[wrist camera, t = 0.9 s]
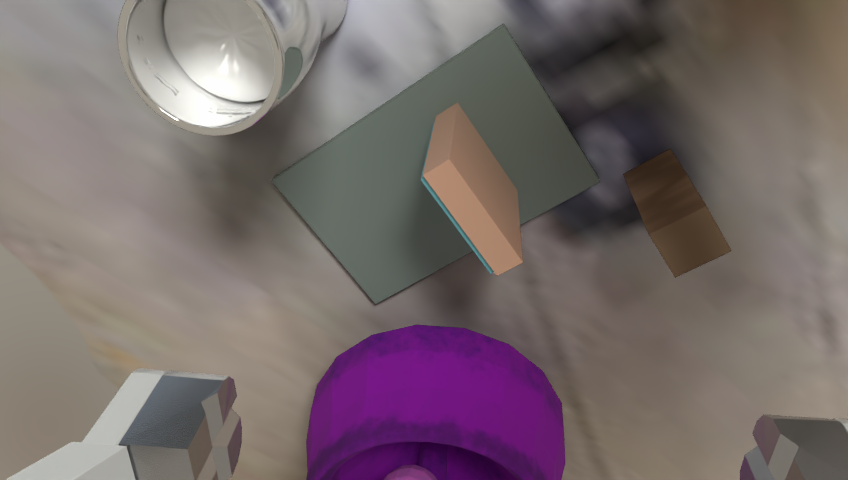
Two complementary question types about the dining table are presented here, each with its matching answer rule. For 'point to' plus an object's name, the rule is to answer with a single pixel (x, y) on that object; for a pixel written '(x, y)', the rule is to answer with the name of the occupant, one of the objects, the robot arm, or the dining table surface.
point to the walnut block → (675, 214)
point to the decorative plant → (434, 411)
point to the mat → (404, 160)
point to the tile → (473, 190)
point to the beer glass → (221, 56)
